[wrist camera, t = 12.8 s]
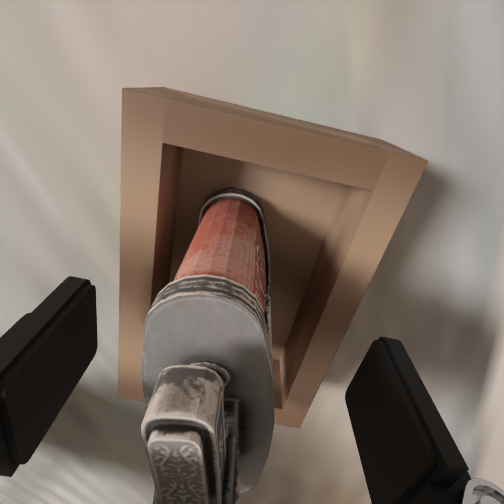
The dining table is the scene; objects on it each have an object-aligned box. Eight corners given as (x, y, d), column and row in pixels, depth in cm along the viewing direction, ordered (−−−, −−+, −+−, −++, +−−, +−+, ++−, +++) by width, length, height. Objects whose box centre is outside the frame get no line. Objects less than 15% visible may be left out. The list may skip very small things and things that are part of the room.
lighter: (267, 334, 17) (270, 617, 8) (204, 332, 17) (137, 609, 8) (273, 187, 13) (294, 415, 4) (192, 186, 13) (35, 405, 4)
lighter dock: (293, 364, 19) (299, 428, 15) (146, 337, 18) (117, 397, 15) (382, 139, 13) (428, 161, 9) (163, 87, 12) (121, 88, 9)
